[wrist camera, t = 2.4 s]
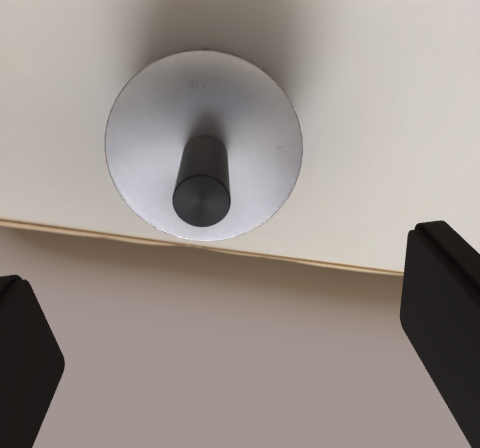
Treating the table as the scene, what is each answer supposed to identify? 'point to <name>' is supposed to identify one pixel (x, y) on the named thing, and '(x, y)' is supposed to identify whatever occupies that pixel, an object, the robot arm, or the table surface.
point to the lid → (203, 145)
